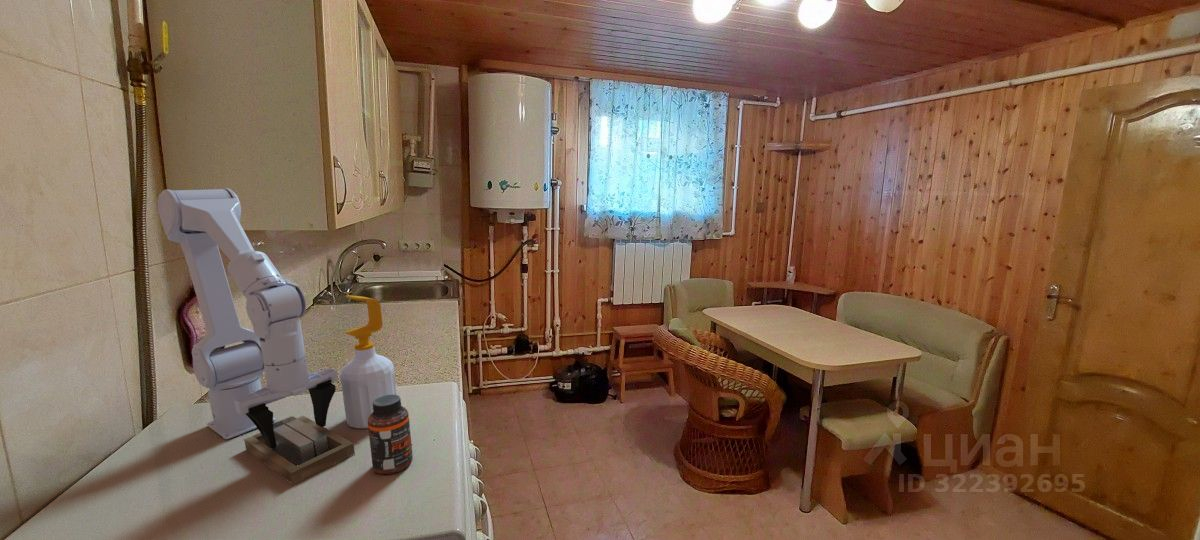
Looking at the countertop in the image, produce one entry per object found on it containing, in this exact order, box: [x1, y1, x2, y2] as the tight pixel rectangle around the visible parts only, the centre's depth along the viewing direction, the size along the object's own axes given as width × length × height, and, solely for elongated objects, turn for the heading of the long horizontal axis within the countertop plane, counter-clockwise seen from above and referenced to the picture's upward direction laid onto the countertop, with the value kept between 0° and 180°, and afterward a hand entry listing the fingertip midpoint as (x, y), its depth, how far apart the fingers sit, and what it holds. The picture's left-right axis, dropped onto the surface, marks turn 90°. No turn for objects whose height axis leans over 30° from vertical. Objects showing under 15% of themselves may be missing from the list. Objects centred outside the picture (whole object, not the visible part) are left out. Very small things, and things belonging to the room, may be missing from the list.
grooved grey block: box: [272, 415, 330, 466], centre depth 78 cm, size 12×4×4 cm, turn 56°
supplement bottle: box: [367, 394, 413, 475], centre depth 73 cm, size 6×6×11 cm
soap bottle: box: [339, 294, 398, 429], centre depth 87 cm, size 9×9×25 cm
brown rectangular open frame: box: [243, 415, 356, 486], centre depth 78 cm, size 17×9×2 cm, turn 56°
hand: (297, 435), depth 78 cm, fingers open, 7 cm apart
